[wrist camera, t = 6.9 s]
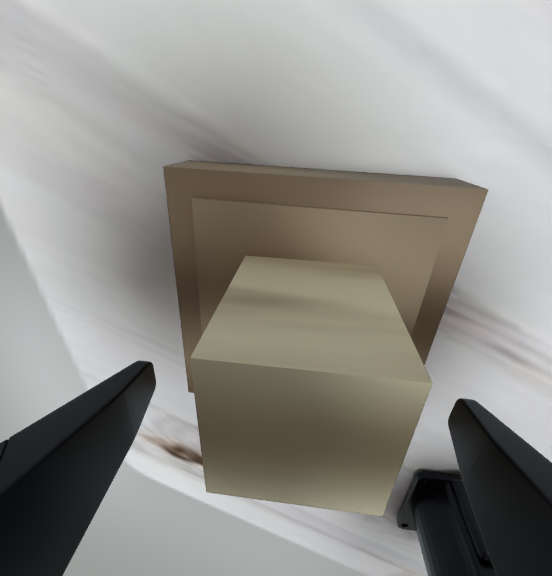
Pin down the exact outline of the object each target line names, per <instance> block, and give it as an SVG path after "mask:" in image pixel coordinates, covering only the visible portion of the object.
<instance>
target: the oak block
mask: <svg viewBox="0 0 552 576" xmlns="http://www.w3.org/2000/svg"><path fill="white" fill-rule="evenodd" d="M190 361H191V370H192V378H193V386H194V394H195V403H196V411H197V419H198V427H199V436H200V444H201V452H202V460H203V469H204V477H205V485H206V492H209V493H216V494H224V495H231V496H238V497H245V498H252V499H259V500H267V501H274V502H281V503H288V504H295V505H302V506H309V507H317V508H324V509H331V510H338V511H345V512H352V513H359V514H367V515H374V516H381V517H382V516H383V514H384V511H385V508H386V506H387V503H388V500H389V498H390V495H391V492H392V490H393V487H394V484H395V482H396V479H397V476H398V474H399V471H400V468H401V466H402V463H403V460H404V458H405V455H406V452H407V450H408V447H409V444H410V442H411V439H412V436H413V434H414V431H415V428H416V426H417V423H418V420H419V418H420V415H421V412H422V410H423V407H424V404H425V402H426V399H427V396H428V394H429V391H430V388H431V386H432V381H431V379H430V377H429V375H428V373H427V371H426V369H425V367H424V364H423V362H422V360H421V358H420V356H419V354H418V352H417V350H416V347H415V345H414V343H413V341H412V339H411V337H410V335H409V333H408V330H407V328H406V326H405V324H404V322H403V320H402V318H401V316H400V313H399V311H398V309H397V307H396V305H395V303H394V301H393V299H392V296H391V294H390V292H389V290H388V288H387V286H386V284H385V282H384V279H383V277H382V275H381V273H380V271H379V269H378V267H377V266H376V265H363V264H350V263H337V262H324V261H310V260H297V259H284V258H271V257H258V256H245V257H244V259H243V261H242V263H241V265H240V267H239V269H238V270H237V272H236V274H235V276H234V278H233V280H232V281H231V283H230V285H229V287H228V289H227V291H226V293H225V294H224V296H223V298H222V300H221V302H220V304H219V305H218V307H217V309H216V311H215V313H214V315H213V317H212V318H211V320H210V322H209V324H208V326H207V328H206V329H205V331H204V333H203V335H202V337H201V339H200V341H199V342H198V344H197V346H196V348H195V350H194V352H193V353H192V355H191V357H190Z"/></svg>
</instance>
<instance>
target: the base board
mask: <svg viewBox="0 0 552 576" xmlns="http://www.w3.org/2000/svg"><path fill="white" fill-rule="evenodd" d="M163 168H164V177H165V186H166V194H167V203H168V212H169V221H170V230H171V239H172V248H173V257H174V266H175V275H176V284H177V293H178V301H179V310H180V319H181V328H182V337H183V346H184V355H185V364H186V373H187V382H188V391H189V392H192V393H194V386H193V378H192V370H191V361H190V357H191V355H192V353H193V352H194V350H195V348H196V346H197V344H198V342H199V341H200V339H201V337H202V335H203V333H204V331H205V329H206V328H207V326H208V324H209V322H210V320H211V318H212V317H213V315H214V313H215V311H216V309H217V307H218V305H219V304H220V302H221V300H222V298H223V296H224V294H225V293H226V291H227V289H228V287H229V285H230V283H231V281H232V280H233V278H234V276H235V274H236V272H237V270H238V269H239V267H240V265H241V263H242V261H243V259H244V257H245V256H258V257H271V258H284V259H297V260H310V261H324V262H337V263H350V264H363V265H376V266H377V267H378V269H379V271H380V273H381V275H382V277H383V279H384V282H385V284H386V286H387V288H388V290H389V292H390V294H391V296H392V299H393V301H394V303H395V305H396V307H397V309H398V311H399V313H400V316H401V318H402V320H403V322H404V324H405V326H406V328H407V330H408V333H409V335H410V337H411V339H412V341H413V343H414V345H415V347H416V350H417V352H418V354H419V356H420V358H421V360H422V362H423V364H425V361H426V359H427V356H428V353H429V351H430V348H431V345H432V342H433V340H434V337H435V334H436V331H437V329H438V326H439V323H440V321H441V318H442V315H443V312H444V310H445V307H446V304H447V301H448V299H449V296H450V293H451V290H452V288H453V285H454V282H455V280H456V277H457V274H458V271H459V269H460V266H461V263H462V260H463V258H464V255H465V252H466V250H467V247H468V244H469V241H470V239H471V236H472V233H473V230H474V228H475V225H476V222H477V220H478V217H479V214H480V211H481V209H482V206H483V203H484V200H485V198H486V195H487V192H488V189H485V188H482V187H479V186H476V185H473V184H470V183H467V182H465V181H462V180H459V179H452V178H437V177H423V176H408V175H394V174H379V173H365V172H350V171H336V170H322V169H307V168H293V167H278V166H264V165H249V164H235V163H220V162H206V161H191V160H188V161H184V162H180V163H176V164H172V165H168V166H164V167H163Z"/></svg>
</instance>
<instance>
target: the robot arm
mask: <svg viewBox="0 0 552 576" xmlns="http://www.w3.org/2000/svg"><path fill="white" fill-rule="evenodd" d="M155 387H156V379H155V373H154V368H153V364H152V363H151V362H148V361H137V362H135V363H133V364H131V365H130V366H128V367H126V368H125V369H123V370H121V371H120V372H118V373H116V374H115V375H113V376H111V377H110V378H108V379H106V380H105V381H103V382H101V383H100V384H98V385H96V386H95V387H93V388H91V389H90V390H88V391H86V392H85V393H83V394H81V395H80V396H78V397H76V398H75V399H73V400H72V401H70V402H68V403H66V404H65V405H63V406H62V407H60V408H58V409H56V410H55V411H53V412H51V413H50V414H48V415H46V416H45V417H43V418H41V419H40V420H38V421H36V422H35V423H33V424H31V425H30V426H28V427H26V428H25V429H23V430H21V431H20V432H18V433H17V434H15V435H13V436H11V437H10V438H9V440H5V441H3V442H2V443H0V576H62V575H63V573H64V572H65V570H66V568H67V566H68V564H69V562H70V560H71V558H72V556H73V555H74V553H75V551H76V549H77V547H78V545H79V543H80V541H81V540H82V537H83V536H84V534H85V532H86V530H87V528H88V526H89V524H90V522H91V521H92V519H93V517H94V515H95V513H96V511H97V509H98V507H99V505H100V503H101V502H102V500H103V498H104V496H105V494H106V492H107V490H108V488H109V486H110V485H111V482H112V481H113V479H114V477H115V475H116V473H117V471H118V469H119V468H120V466H121V464H122V462H123V460H124V458H125V456H126V454H127V452H128V451H129V449H130V447H131V445H132V443H133V441H134V439H135V437H136V434H137V432H138V430H139V427H140V425H141V422H142V420H143V418H144V415H145V413H146V410H147V408H148V405H149V403H150V400H151V398H152V395H153V393H154V390H155ZM448 426H449V430H450V434H451V438H452V442H453V446H454V450H455V454H456V458H457V462H458V466H459V470H460V473H461V476H454V475H446V474H439V473H432V472H419V473H417V474H416V476H415V478H414V481H413V483H412V485H411V487H410V489H409V492H408V494H407V496H406V498H405V501H404V503H403V505H402V507H401V509H400V512H399V514H398V516H397V519H396V520H397V525H398V527H399V528H402V529H407V530H414V531H417V535H418V538H419V542H420V546H421V550H422V554H423V558H424V562H425V566H426V570H427V573H428V576H552V463H551V462H550V461H549V460H548V459H546V458H545V457H544V456H543V455H542V454H540V453H539V452H538V451H537V450H535V449H534V448H533V447H532V446H530V445H529V444H528V443H527V442H526V441H524V440H523V439H522V438H521V437H519V436H518V435H517V434H516V433H515V432H513V431H512V430H511V429H510V428H508V427H507V426H506V425H505V424H504V423H502V422H501V421H500V420H499V419H497V418H496V417H495V416H494V415H493V414H491V413H490V412H489V411H488V410H486V409H485V408H484V407H483V406H482V405H480V404H479V403H478V402H476V401H475V400H471V399H462V398H461V399H458V400H457V401H456V403H455V405H454V407H453V409H452V412H451V414H450V416H449V419H448Z"/></svg>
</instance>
